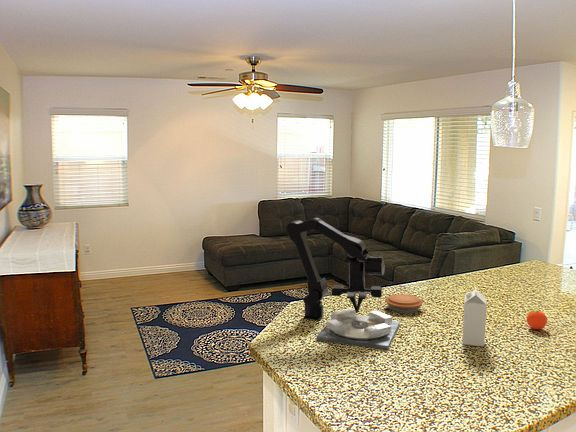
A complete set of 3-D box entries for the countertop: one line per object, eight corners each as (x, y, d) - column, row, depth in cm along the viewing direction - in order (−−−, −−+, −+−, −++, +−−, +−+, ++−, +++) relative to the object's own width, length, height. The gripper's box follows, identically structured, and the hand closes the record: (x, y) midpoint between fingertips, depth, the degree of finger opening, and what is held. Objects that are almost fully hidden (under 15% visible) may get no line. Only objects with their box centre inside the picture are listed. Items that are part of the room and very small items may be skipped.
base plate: (316, 340, 184) (316, 335, 184) (335, 317, 208) (335, 313, 207) (387, 350, 176) (387, 345, 175) (399, 325, 199) (399, 321, 198)
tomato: (520, 328, 196) (521, 310, 195) (526, 323, 201) (527, 305, 200) (542, 333, 190) (544, 314, 189) (549, 328, 195) (550, 310, 194)
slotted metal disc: (354, 345, 176) (354, 335, 175) (315, 324, 195) (315, 315, 195) (405, 331, 187) (405, 322, 187) (364, 313, 207) (364, 305, 206)
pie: (431, 310, 216) (431, 298, 215) (404, 317, 208) (404, 305, 207) (403, 301, 229) (403, 289, 228) (377, 307, 220) (377, 296, 219)
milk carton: (483, 339, 185) (486, 287, 182) (484, 347, 178) (487, 293, 175) (462, 337, 187) (465, 285, 184) (462, 344, 180) (464, 291, 177)
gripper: (382, 268, 205) (382, 306, 207) (334, 267, 209) (335, 304, 211) (381, 276, 194) (381, 316, 196) (331, 274, 198) (331, 314, 200)
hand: (357, 312), depth 201 cm, fingers closed
